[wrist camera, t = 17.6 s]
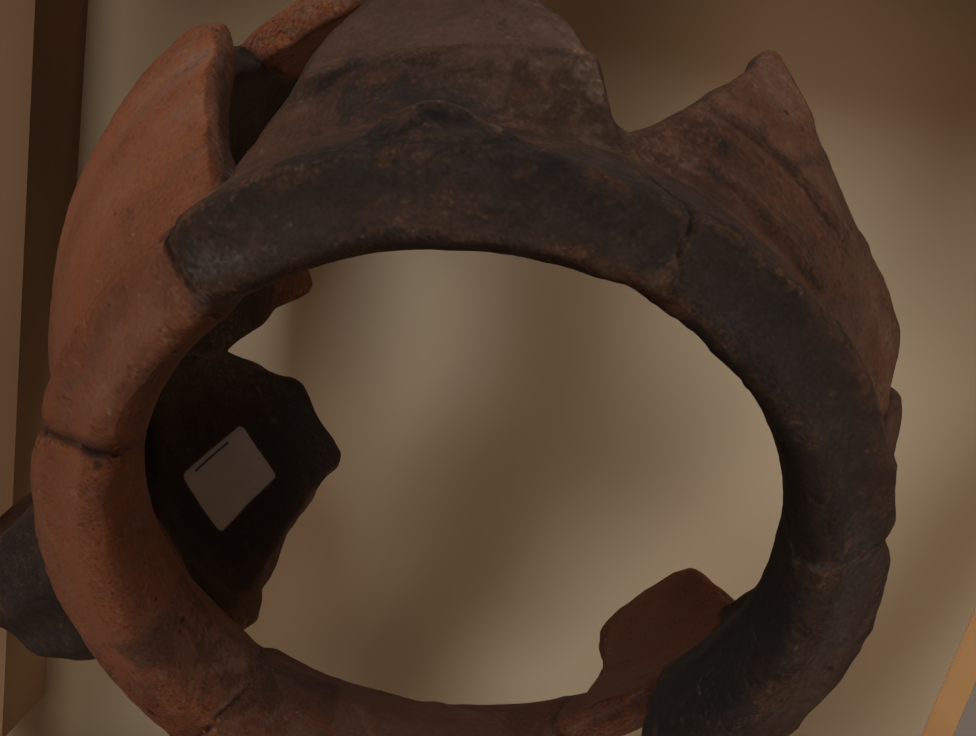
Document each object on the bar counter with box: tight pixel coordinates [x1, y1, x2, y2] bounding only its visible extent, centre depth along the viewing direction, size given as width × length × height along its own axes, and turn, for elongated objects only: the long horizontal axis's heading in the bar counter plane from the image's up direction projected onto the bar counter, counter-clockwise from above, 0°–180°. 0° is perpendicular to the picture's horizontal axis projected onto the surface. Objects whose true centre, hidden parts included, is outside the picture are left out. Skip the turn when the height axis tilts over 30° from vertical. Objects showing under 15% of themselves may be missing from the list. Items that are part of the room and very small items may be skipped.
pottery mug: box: [0, 0, 902, 736], centre depth 12 cm, size 12×10×8 cm
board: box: [0, 0, 976, 736], centre depth 15 cm, size 18×24×5 cm
